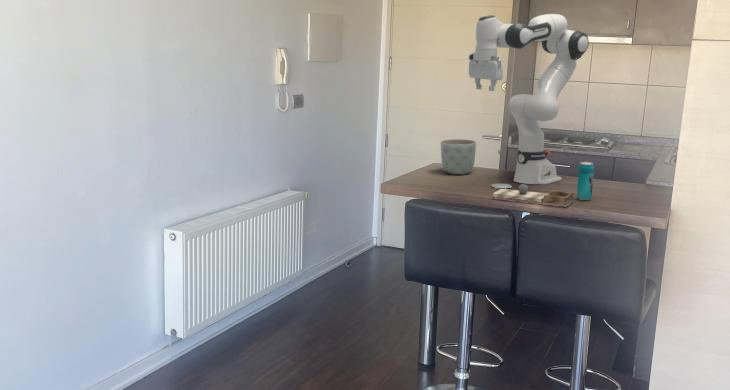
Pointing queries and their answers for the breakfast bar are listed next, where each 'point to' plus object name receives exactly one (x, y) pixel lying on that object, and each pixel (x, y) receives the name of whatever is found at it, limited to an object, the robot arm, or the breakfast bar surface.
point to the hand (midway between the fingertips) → (485, 90)
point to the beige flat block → (519, 195)
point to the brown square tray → (558, 197)
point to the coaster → (501, 186)
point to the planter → (458, 155)
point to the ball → (523, 188)
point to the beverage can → (585, 180)
